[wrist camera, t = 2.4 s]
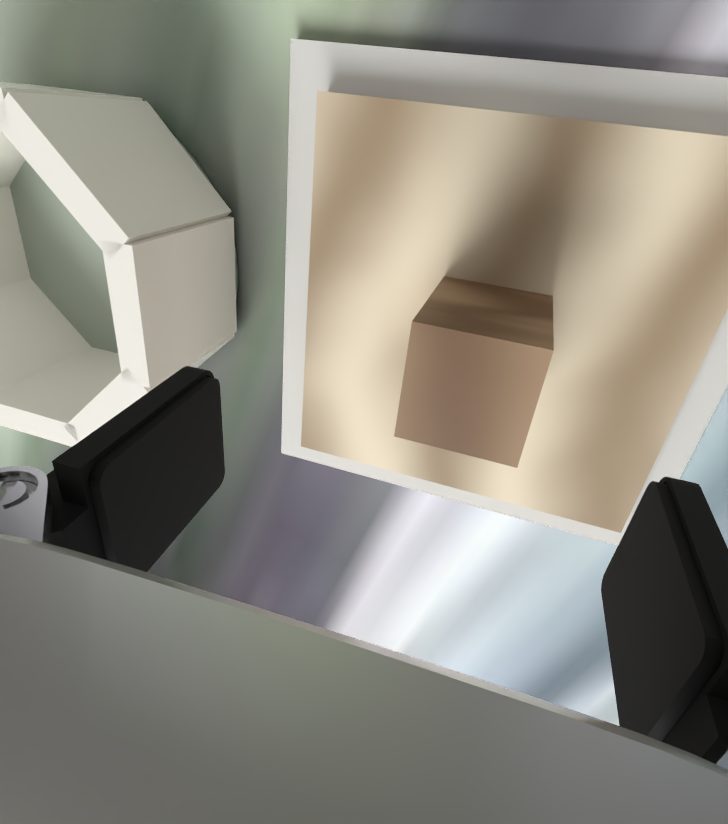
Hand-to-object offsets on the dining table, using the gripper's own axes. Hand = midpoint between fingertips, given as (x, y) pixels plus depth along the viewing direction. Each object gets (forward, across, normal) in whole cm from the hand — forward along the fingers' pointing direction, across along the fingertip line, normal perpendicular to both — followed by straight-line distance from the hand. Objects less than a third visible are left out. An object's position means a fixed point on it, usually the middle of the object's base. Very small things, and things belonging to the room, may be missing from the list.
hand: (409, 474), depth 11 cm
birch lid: (+12, -1, +1) cm, 12 cm away
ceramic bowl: (+12, +17, +1) cm, 21 cm away
